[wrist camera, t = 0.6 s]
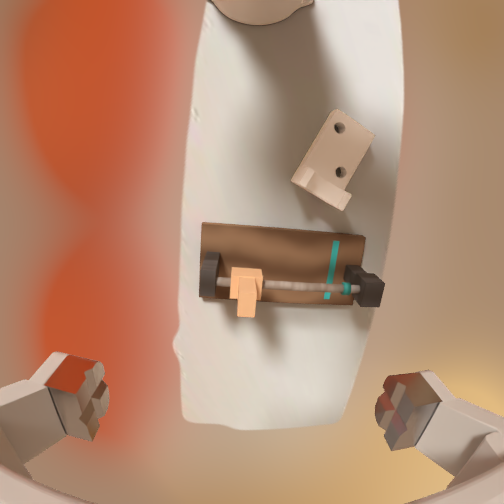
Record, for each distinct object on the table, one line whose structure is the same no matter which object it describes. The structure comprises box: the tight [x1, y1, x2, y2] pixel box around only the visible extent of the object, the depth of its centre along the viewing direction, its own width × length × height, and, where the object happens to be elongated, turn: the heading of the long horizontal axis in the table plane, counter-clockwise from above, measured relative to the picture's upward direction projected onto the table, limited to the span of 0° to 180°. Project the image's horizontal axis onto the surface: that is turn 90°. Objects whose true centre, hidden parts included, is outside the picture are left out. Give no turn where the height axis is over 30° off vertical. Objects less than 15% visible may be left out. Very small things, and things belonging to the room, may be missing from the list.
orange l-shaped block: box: [230, 267, 263, 317], centre depth 39 cm, size 3×4×8 cm
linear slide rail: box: [199, 222, 385, 307], centre depth 45 cm, size 12×26×11 cm, turn 85°
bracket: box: [290, 109, 375, 211], centre depth 42 cm, size 13×7×8 cm, turn 150°
